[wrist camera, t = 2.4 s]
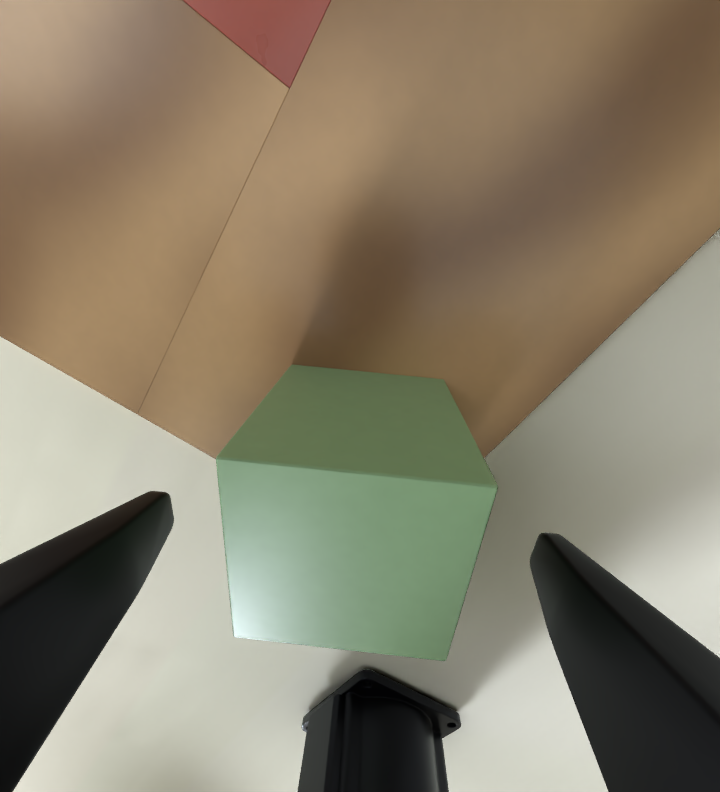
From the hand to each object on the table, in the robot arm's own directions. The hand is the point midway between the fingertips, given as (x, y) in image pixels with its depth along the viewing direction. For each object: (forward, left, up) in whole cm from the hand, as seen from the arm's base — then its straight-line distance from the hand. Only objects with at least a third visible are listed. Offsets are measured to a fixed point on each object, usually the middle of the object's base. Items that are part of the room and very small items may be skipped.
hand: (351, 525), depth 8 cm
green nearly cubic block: (0, 0, -4) cm, 4 cm away
